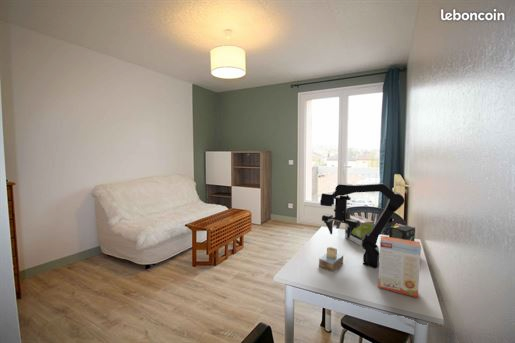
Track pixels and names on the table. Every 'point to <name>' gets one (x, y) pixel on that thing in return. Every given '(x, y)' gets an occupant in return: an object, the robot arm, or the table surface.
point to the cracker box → (399, 265)
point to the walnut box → (330, 266)
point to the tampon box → (402, 232)
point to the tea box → (359, 229)
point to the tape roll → (331, 253)
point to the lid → (328, 260)
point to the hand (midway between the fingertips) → (339, 236)
